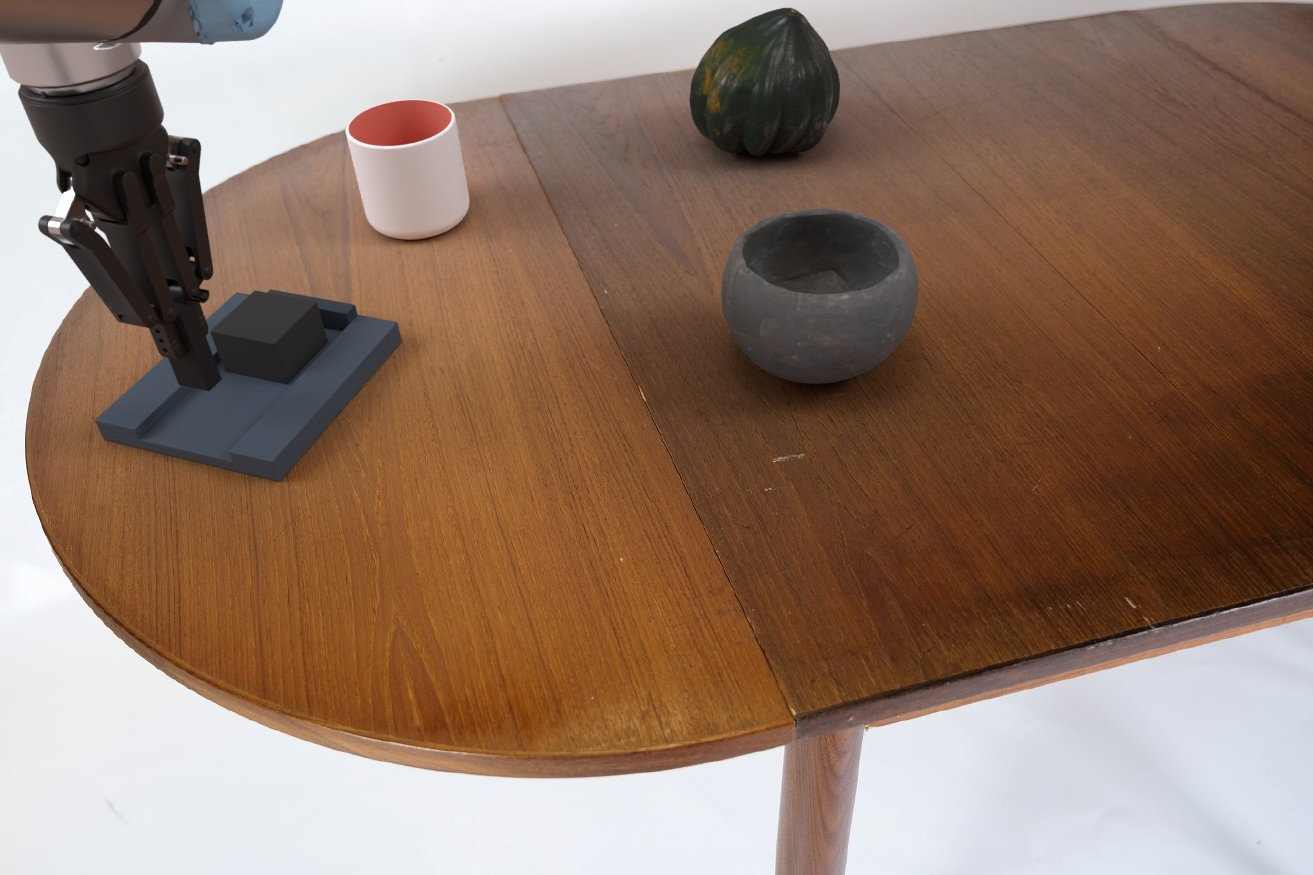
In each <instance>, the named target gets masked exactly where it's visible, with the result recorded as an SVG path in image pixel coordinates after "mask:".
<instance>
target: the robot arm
mask: <svg viewBox="0 0 1313 875" xmlns="http://www.w3.org/2000/svg"><path fill="white" fill-rule="evenodd" d="M283 5H284V0H0V57H1V59H2V62H3V64H4V66H5V69H6V71H7V74H8V76H9V78H10V79H11V80H13V81H14V82H15V83H17V84H20V85H19V87H18V91H17V96H18V98H19V100H20V102H21V105H22V107H23V110H24V112H25V114H26V117H27V119H28V122H29V123H30V126H31V128H32V132H33V133H34V136H35V138H36V140H37V142H38V143H39V145H41V147H42V148H43V149H44V150H45V151H46V152H47V153H48V155H49V156H50V157H51V158H52V160H53V162H54V165H55V172H56V176H55V177H56V178H55V182H56V187H57V189H58V190H59V192H60V193H61V195H62V196H61V198H60V200H59V202H58V204H57V207H56V209H55V211H54V213H53V215H49V214H44V215H42V216H40V218H39V220H38V223H37V227H38V230H39V232H40V233H41V234H42V235H44V236H45V237H47V238H49V239H50V240H52V241H53V242H55V243H56V244H58V245H59V246H61V247H62V248H63V250H64V251H65V252H66V254H67V255H68V256H69V258H70V259H71V261H72V262H73V263H74V265H75V266H76V267H77V268H78V270H79V271H80V272H81V274H82V275H83V277H84V278H85V279H86V281H87V283H89V285H90V286H91V287H92V289H93V290H94V292H95V293H96V294H97V296H98V297H99V298H100V300H101V301H102V303H103V304H104V305H105V306H106V308H107V309H108V310H109V312H110V313H111V315H112V316H113V317H114V318H115V320H116V321H117V322H118V323H120V324H126V325H131V326H135V327H140V328H147V329H148V330H149V332H150V334H151V337H152V340H153V341H154V345H155V347H156V349H157V351H158V354H159V355H160V356H162V357H163V358H164V357H167V358H168V359H169V361H170V364H171V366H172V369H173V371H174V374H175V376H176V379H177V381H178V384H179V385H182V386H186V387H191V388H196V389H200V390H205V391H210V390H211V389H212V388H213V387H214V386H215V385H216V384H218V383H219V382H220V381H221V380H222V379H221V376H220V374H219V371H218V368H217V365H216V363H215V360H214V357H213V354H212V352H211V349H210V346H209V344H208V341H207V338H206V335H207V334H208V324H207V322H206V316H205V314H204V311H203V307H202V305H201V304H205V303H206V302H208V300H209V298H210V290H209V289H205V288H201V285H203V284H202V283H203V282H204V281H210V280H211V279H212V278H213V275H214V264H213V258H212V251H211V244H210V238H209V231H208V225H207V224H208V223H207V218H206V211H205V205H204V198H203V191H202V186H201V179H200V166H201V157H202V156H201V155H202V144H201V142H200V140H199V139H198V138H194V137H188V136H186V137H185V136H179V135H172V134H169V133H168V131H167V129H166V127H165V126H164V125H163V124H162V123H163V122H164V119H165V110H164V107H163V105H162V102H161V99H160V95H159V93H158V90H157V87H156V85H155V81H154V78H153V75H152V72H151V69H150V67H149V65H148V63H146V62H145V61H144V60H142V59H141V58H140V57H141V54H142V53H143V51H142V45H141V44H142V43H143V44H144V43H145V44H146V43H165V44H166V43H168V44H169V43H171V44H172V43H173V44H200V45H209V46H213V45H214V44H216V43H225V42H246V41H255V40H257V39H260V38H262V37H264V36H266V34H268V33H269V31H270V30H271V29H272V28H273V27H274V26H275V24H276V23H277V21H278V19H279V17H280V14H281V12H282V11H281V10H282V8H283ZM87 212H89V213H90V215H91V217H89V215H88V214H87ZM91 218H92V220H91ZM97 229H98V230H99V231H100V232H102V233H103V234H104V235H105V238H106V239H105V238H104V237H103V236H102V235H101V234H100V233H99V232H98V231H96V230H97ZM106 240H107V241H106ZM191 258H193V259H194V260H191Z"/></svg>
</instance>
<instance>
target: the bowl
mask: <svg viewBox="0 0 1313 875" xmlns="http://www.w3.org/2000/svg"><path fill="white" fill-rule="evenodd" d="M720 286H721V288H720V296H721V306H722V314H723V318H724V319H725V324H726V326H727V329H728V331H729V332H730V335H731V336H732V338H733V340H734V341H735V343H736V344H737V345H738V347H739V348H740V350H741V351H742V353H743V354H745V356H746V357H747V358H748V359H750V361H751V362H752V363H754V364H755V365H756V366H757V367H759V368H760V369H761V370H763V371H764V372H767V373H768V374H769V375H773V376H775V377H776V378H780V379H783V380H787V381H790V382H794V383H800V384H808V385H810V384H811V385H818V384H820V385H821V384H833V383H837V382H841V381H847V380H850V379H852V378H855V377H857V376H860V375H862V374H864V373H867V372H869V371H871V370H873V369H874V368H876V367H877V366H878V365H880V364H881V363H883V362H884V361H885V360H886V359H887V358H888V357H890V355H891V354H892V353H893V352H894V351H895V350H896V349H897V348H898V347H899V345H900V344H901V342H903V340H904V339H905V337H906V336H907V334H908V333H909V331H910V329H911V326H912V324H913V321H914V318H915V315H916V311H917V306H918V300H919V276H918V272H917V268H916V264H915V261H914V257H913V254H912V253H911V250H910V249H909V247H908V245H907V244H906V241H904V240H903V238H902V237H901V236H900V235H899V234H898V233H897V232H896V231H895V230H894V229H893V228H891V227H890V226H888V224H886V223H884V222H882V221H879V220H878V219H875V218H872V217H870V216H866V215H863V214H861V213H856V212H852V211H846V210H839V209H834V208H824V207H823V208H806V209H798V210H793V211H790V212H789V211H786V212H782V213H779V214H776V215H772V216H769V217H767V218H764V219H762V220H760V221H758V222H756V223H754V224H753V225H751V226H750V227H748V228H747V229H746V230H745V231H743V232H742V233H741V234H740V235H739V236H738V237H737V238H736V239H735V240H734V243H733V245H732V248H731V250H730V252H729V254H728V256H727V259H726V262H725V265H724V270H723V273H722V277H721V285H720Z"/></svg>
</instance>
